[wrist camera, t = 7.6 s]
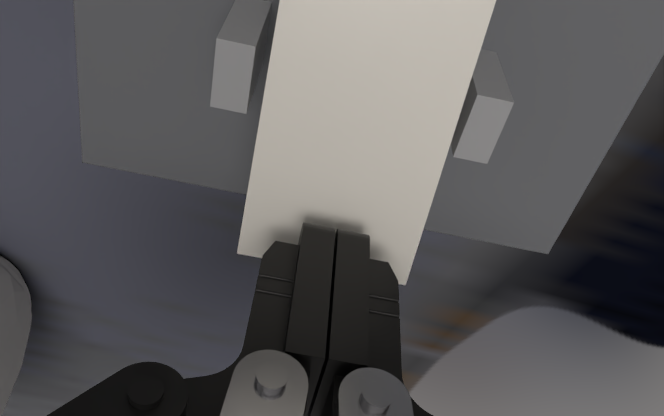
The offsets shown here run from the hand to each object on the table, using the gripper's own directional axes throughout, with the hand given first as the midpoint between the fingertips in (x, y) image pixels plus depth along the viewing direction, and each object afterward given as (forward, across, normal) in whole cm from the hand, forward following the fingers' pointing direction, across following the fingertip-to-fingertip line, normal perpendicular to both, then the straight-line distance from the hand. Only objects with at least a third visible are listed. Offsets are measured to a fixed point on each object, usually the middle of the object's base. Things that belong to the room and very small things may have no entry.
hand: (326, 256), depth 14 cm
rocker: (+2, 0, -3) cm, 4 cm away
